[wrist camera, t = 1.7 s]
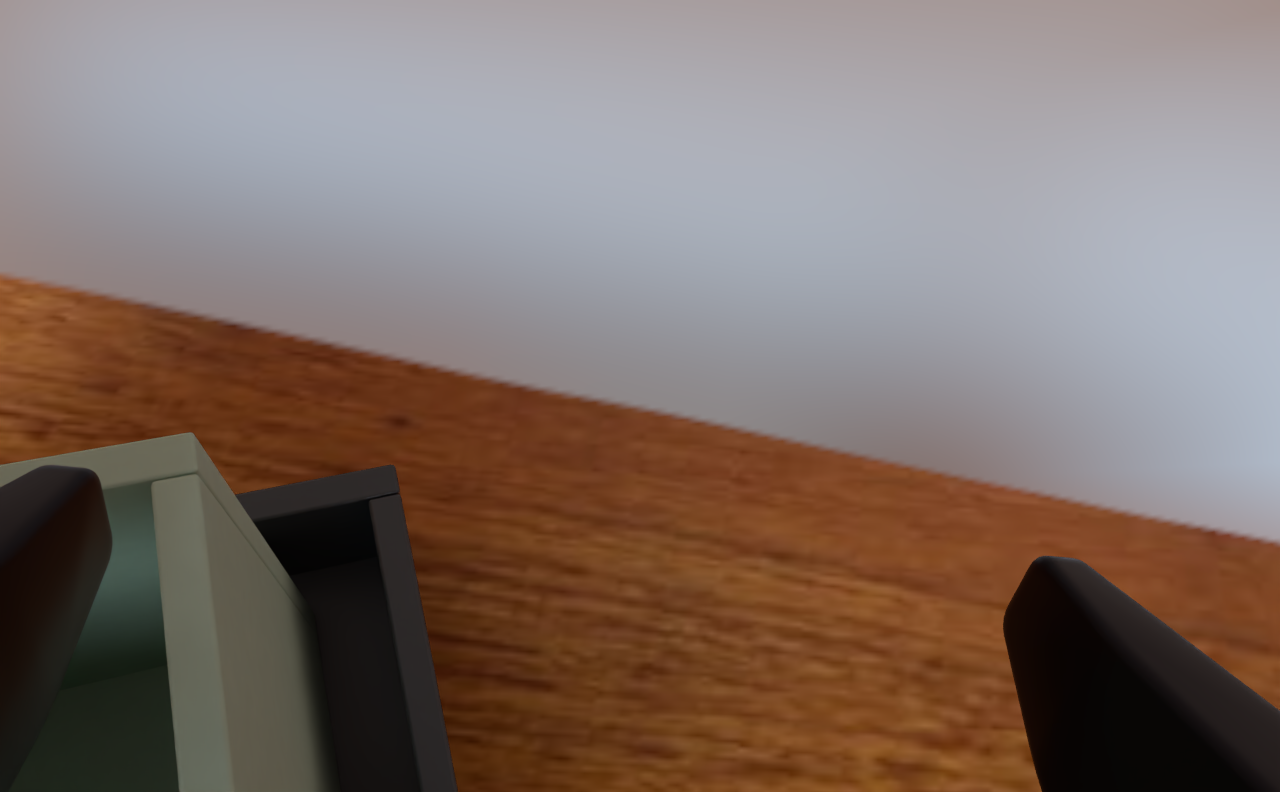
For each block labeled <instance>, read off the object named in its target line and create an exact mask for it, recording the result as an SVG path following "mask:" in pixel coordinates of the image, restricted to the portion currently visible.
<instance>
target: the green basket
mask: <svg viewBox="0 0 1280 792" xmlns="http://www.w3.org/2000/svg"><path fill="white" fill-rule="evenodd" d="M44 465H60V466H71V467H82V468H88V469H90V470H93V471H94V472H95V473H96V474H97V475H98V477H99V479H100V482H101V486H102V490H103V495H104V499H105V504H106V508H107V513H108V518H109V522H110V527H111V531H112V538H113V545H112V553H111V557H110V561H109V564H108V566H107V569H106V572H105V574H104V577H103V579H102V582H101V584H100V587H99V590H98V592H97V595H96V597H95V600H94V602H93V605H92V608H91V610H90V613H89V615H88V618H87V620H86V623H85V625H84V628H83V631H82V633H81V636H80V638H79V641H78V643H77V646H76V649H75V651H74V654H73V656H72V659H71V661H70V664H69V666H68V669H67V672H66V674H65V677H64V679H63V682H62V684H61V687H60V689H59V692H58V694H57V697H56V699H55V701H54V704H53V706H52V708H51V711H50V713H49V715H48V717H47V719H46V721H45V723H44V725H43V727H42V729H41V731H40V733H39V735H38V737H37V739H36V741H35V743H34V745H33V747H32V749H31V751H30V753H29V755H28V756H27V758H26V760H25V762H24V764H23V766H22V768H21V770H20V772H19V773H18V775H17V777H16V779H15V781H14V783H13V785H12V787H11V789H10V790H9V792H341V788H340V781H339V775H338V768H337V761H336V755H335V748H334V742H333V735H332V729H331V722H330V715H329V709H328V702H327V696H326V689H325V682H324V676H323V669H322V663H321V656H320V650H319V643H318V636H317V629H316V623H315V616H314V612H313V611H312V609H311V608H310V606H309V605H308V603H307V602H306V600H305V599H304V597H303V596H302V594H301V593H300V591H299V590H298V588H297V587H296V585H295V584H294V583H293V581H292V580H291V578H290V577H289V575H288V574H287V572H286V571H285V569H284V568H283V566H282V565H281V563H280V562H279V560H278V559H277V557H276V556H275V554H274V553H273V551H272V550H271V548H270V547H269V545H268V544H267V542H266V541H265V539H264V538H263V536H262V535H261V533H260V532H259V530H258V529H257V527H256V526H255V524H254V523H253V521H252V520H251V518H250V517H249V515H248V514H247V513H246V511H245V510H244V508H243V507H242V505H241V504H240V502H239V501H238V499H237V498H236V496H235V495H234V493H233V492H232V490H231V489H230V487H229V486H228V484H227V483H226V481H225V480H224V478H223V477H222V475H221V474H220V472H219V471H218V469H217V468H216V466H215V465H214V463H213V462H212V460H211V459H210V457H209V456H208V454H207V453H206V451H205V450H204V448H203V447H202V445H201V444H200V442H199V441H198V440H197V438H196V437H195V435H194V434H193V433H191V432H188V433H183V434H177V435H171V436H165V437H160V438H154V439H148V440H142V441H136V442H131V443H125V444H119V445H113V446H107V447H102V448H96V449H90V450H84V451H78V452H73V453H67V454H61V455H55V456H49V457H44V458H38V459H32V460H26V461H21V462H15V463H9V464H3V465H0V487H2V486H3V485H5V484H7V483H9V482H11V481H13V480H15V479H17V478H18V477H20V476H22V475H24V474H26V473H28V472H30V471H32V470H34V469H36V468H38V467H40V466H44Z"/></svg>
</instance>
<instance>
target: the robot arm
mask: <svg viewBox="0 0 1280 792" xmlns="http://www.w3.org/2000/svg"><path fill="white" fill-rule="evenodd" d="M112 545H113V538H112V531H111V527H110V522H109V518H108V513H107V508H106V504H105V499H104V495H103V490H102V486H101V482H100V479H99V477H98V475H97V474H96V473H95V472H94V471H93V470H90V469H88V468H82V467H71V466H60V465H44V466H40V467H38V468H36V469H34V470H32V471H30V472H28V473H26V474H24V475H22V476H20V477H18V478H17V479H15V480H13V481H11V482H9V483H7V484H5V485H3V486H2V487H0V792H9V790H10V789H11V787H12V785H13V783H14V781H15V779H16V777H17V775H18V773H19V772H20V770H21V768H22V766H23V764H24V762H25V760H26V758H27V756H28V755H29V753H30V751H31V749H32V747H33V745H34V743H35V741H36V739H37V737H38V735H39V733H40V731H41V729H42V727H43V725H44V723H45V721H46V719H47V717H48V715H49V713H50V711H51V708H52V706H53V704H54V701H55V699H56V697H57V694H58V692H59V689H60V687H61V684H62V682H63V679H64V677H65V674H66V672H67V669H68V666H69V664H70V661H71V659H72V656H73V654H74V651H75V649H76V646H77V643H78V641H79V638H80V636H81V633H82V631H83V628H84V625H85V623H86V620H87V618H88V615H89V613H90V610H91V608H92V605H93V602H94V600H95V597H96V595H97V592H98V590H99V587H100V584H101V582H102V579H103V577H104V574H105V572H106V569H107V566H108V564H109V561H110V557H111V553H112ZM1003 630H1004V637H1005V642H1006V646H1007V650H1008V655H1009V659H1010V663H1011V668H1012V672H1013V677H1014V681H1015V685H1016V690H1017V694H1018V698H1019V703H1020V707H1021V712H1022V716H1023V720H1024V725H1025V729H1026V733H1027V738H1028V742H1029V747H1030V751H1031V755H1032V758H1033V762H1034V766H1035V770H1036V774H1037V777H1038V780H1039V783H1040V786H1041V790H1042V792H1280V711H1279V710H1278V709H1277V708H1275V707H1274V706H1273V705H1271V704H1270V703H1269V702H1267V701H1266V700H1265V699H1263V698H1262V697H1261V696H1259V695H1258V694H1257V693H1256V692H1254V691H1253V690H1252V689H1250V688H1249V687H1248V686H1246V685H1245V684H1244V683H1242V682H1241V681H1240V680H1238V679H1237V678H1236V677H1234V676H1233V675H1232V674H1230V673H1229V672H1228V671H1227V670H1225V669H1224V668H1223V667H1221V666H1220V665H1219V664H1217V663H1216V662H1215V661H1213V660H1212V659H1211V658H1209V657H1208V656H1207V655H1205V654H1204V653H1203V652H1202V651H1200V650H1199V649H1198V648H1196V647H1195V646H1194V645H1192V644H1191V643H1190V642H1188V641H1187V640H1186V639H1184V638H1183V637H1182V636H1180V635H1179V634H1178V633H1176V632H1175V631H1174V630H1173V629H1171V628H1170V627H1169V626H1167V625H1166V624H1165V623H1163V622H1162V621H1161V620H1159V619H1158V618H1157V617H1155V616H1154V615H1153V614H1151V613H1150V612H1149V611H1148V610H1146V609H1145V608H1144V607H1142V606H1141V605H1140V604H1138V603H1137V602H1136V601H1134V600H1133V599H1132V598H1130V597H1129V596H1128V595H1126V594H1125V593H1124V592H1123V591H1121V590H1120V589H1119V588H1117V587H1116V586H1115V585H1113V584H1112V583H1111V582H1109V581H1108V580H1107V579H1105V578H1104V577H1103V576H1101V575H1100V574H1099V573H1097V572H1096V571H1095V570H1094V569H1092V568H1091V567H1090V566H1088V565H1087V564H1086V563H1084V562H1083V561H1080V560H1078V559H1074V558H1065V557H1054V556H1042V557H1039V558H1037V559H1036V560H1034V561H1033V562H1032V564H1031V565H1030V567H1029V568H1028V570H1027V572H1026V574H1025V576H1024V577H1023V579H1022V581H1021V583H1020V585H1019V587H1018V588H1017V590H1016V592H1015V594H1014V596H1013V598H1012V599H1011V601H1010V603H1009V605H1008V607H1007V609H1006V612H1005V616H1004V622H1003Z"/></svg>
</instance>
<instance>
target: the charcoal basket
mask: <svg viewBox="0 0 1280 792" xmlns="http://www.w3.org/2000/svg"><path fill="white" fill-rule="evenodd" d="M235 496H236V498H237V499H238V501H239V502H240V504H241V505H242V507H243V508H244V510H245V511H246V513H247V514H248V515H249V517H250V518H251V520H252V521H253V523H254V524H255V526H256V527H257V529H258V530H259V532H260V533H261V535H262V536H263V538H264V539H265V541H266V542H267V544H268V545H269V547H270V548H271V550H272V551H273V553H274V554H275V556H276V557H277V559H278V560H279V562H280V563H281V565H282V566H283V568H284V569H285V571H286V572H287V574H288V575H289V577H290V578H291V580H292V581H293V583H294V584H295V585H296V587H297V588H298V590H299V591H300V593H301V594H302V596H303V597H304V599H305V600H306V602H307V603H308V605H309V606H310V608H311V609H312V611H313V612H314V616H315V623H316V629H317V636H318V643H319V650H320V656H321V663H322V669H323V676H324V682H325V689H326V696H327V702H328V709H329V715H330V722H331V729H332V735H333V742H334V748H335V755H336V761H337V768H338V775H339V781H340V788H341V792H458V789H457V783H456V778H455V773H454V768H453V763H452V758H451V752H450V747H449V742H448V737H447V732H446V726H445V721H444V716H443V711H442V706H441V701H440V695H439V690H438V685H437V680H436V675H435V670H434V664H433V659H432V654H431V649H430V644H429V639H428V633H427V628H426V623H425V618H424V613H423V608H422V602H421V597H420V592H419V587H418V582H417V577H416V571H415V566H414V561H413V556H412V551H411V546H410V540H409V535H408V530H407V525H406V520H405V515H404V509H403V504H402V499H401V496H400V489H399V484H398V478H397V473H396V468H395V466H394V465H386V466H381V467H376V468H371V469H366V470H361V471H355V472H350V473H345V474H340V475H335V476H329V477H324V478H319V479H314V480H309V481H304V482H298V483H293V484H288V485H283V486H278V487H273V488H267V489H262V490H257V491H252V492H247V493H241V494H236V495H235Z"/></svg>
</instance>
